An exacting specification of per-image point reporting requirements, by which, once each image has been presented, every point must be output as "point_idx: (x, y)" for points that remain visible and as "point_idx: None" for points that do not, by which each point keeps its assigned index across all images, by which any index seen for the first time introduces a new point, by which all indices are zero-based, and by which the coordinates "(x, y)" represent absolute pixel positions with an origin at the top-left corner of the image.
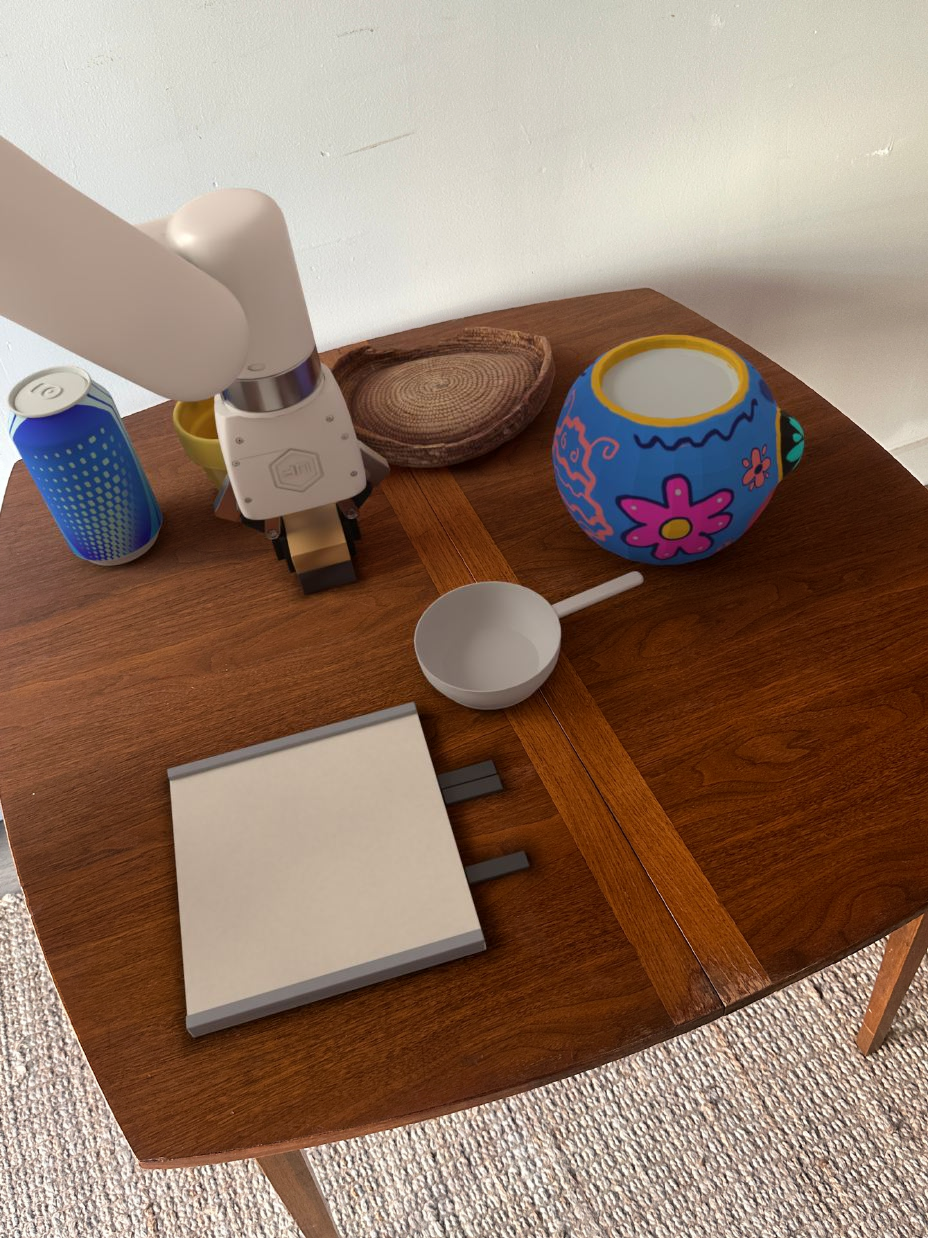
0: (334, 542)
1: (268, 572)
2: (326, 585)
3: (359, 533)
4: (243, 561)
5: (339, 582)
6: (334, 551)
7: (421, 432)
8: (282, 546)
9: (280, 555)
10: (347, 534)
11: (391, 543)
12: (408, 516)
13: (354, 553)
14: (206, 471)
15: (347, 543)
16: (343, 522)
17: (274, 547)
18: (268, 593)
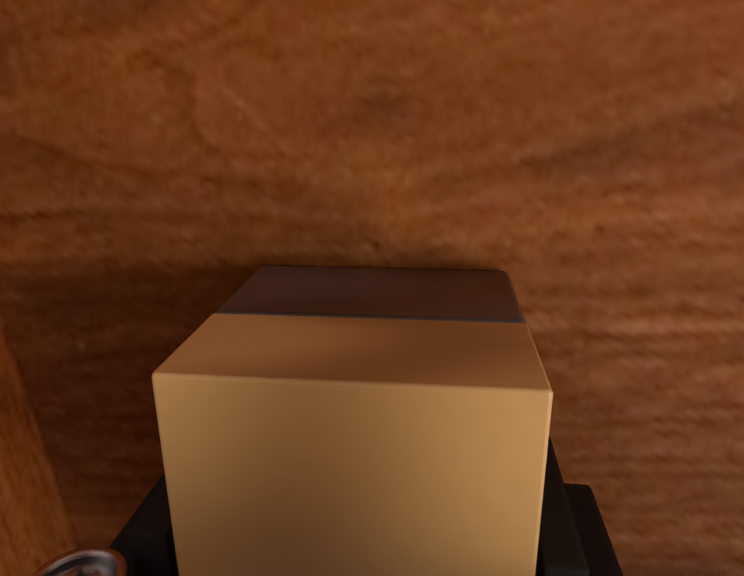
0: (227, 398)
1: (629, 464)
2: (394, 275)
3: (164, 479)
4: (715, 563)
5: (332, 271)
6: (259, 351)
7: None
8: (572, 526)
9: (575, 502)
10: None
11: (102, 417)
12: (32, 521)
13: None
14: None
15: None
16: (163, 544)
17: (609, 548)
18: (666, 344)
